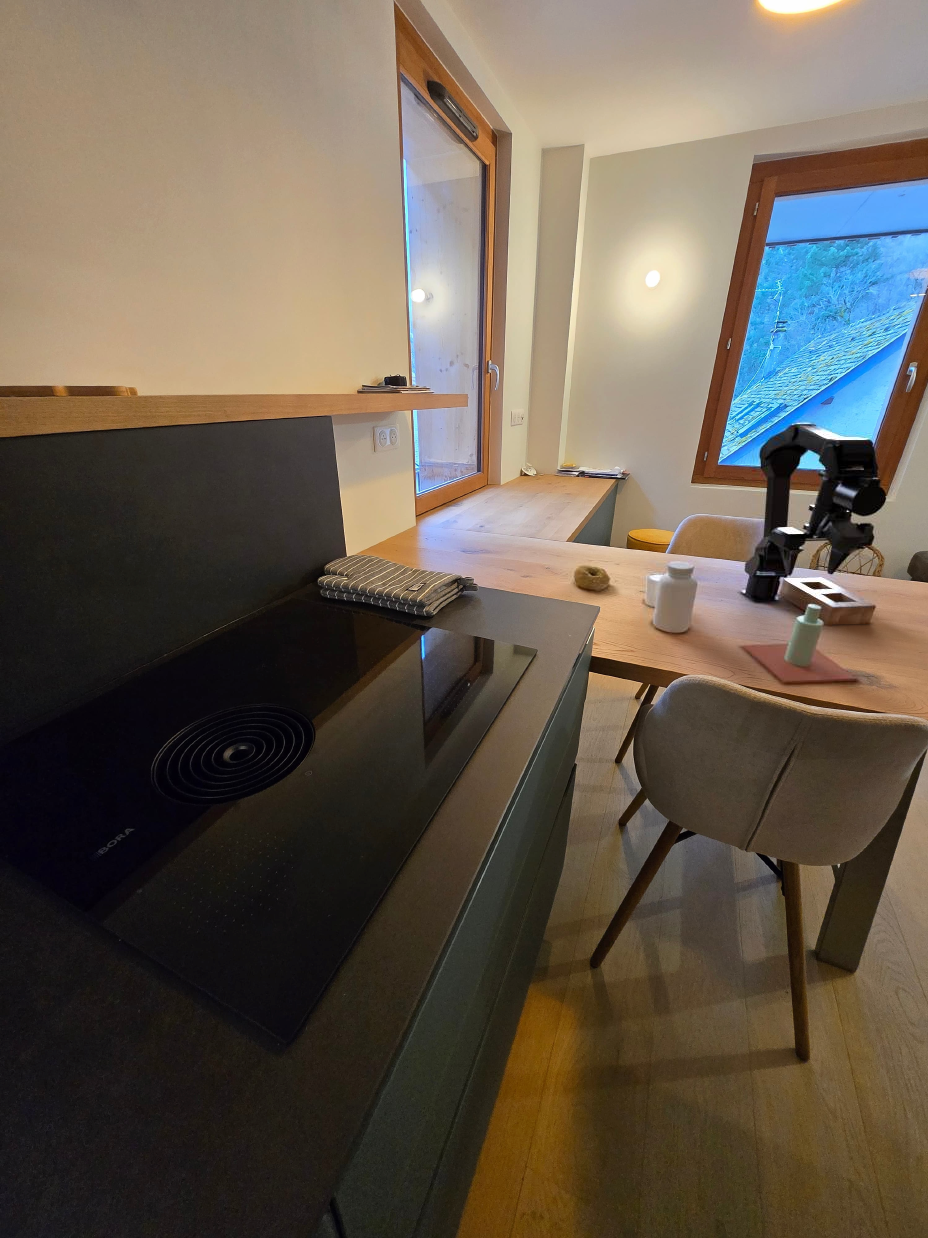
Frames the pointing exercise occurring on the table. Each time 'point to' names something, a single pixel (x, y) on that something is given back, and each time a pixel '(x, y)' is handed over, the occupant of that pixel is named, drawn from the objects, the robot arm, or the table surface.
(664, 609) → the pill bottle
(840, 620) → the holder
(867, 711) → the table surface
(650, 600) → the white short cylinder
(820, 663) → the mat
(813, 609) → the bottle
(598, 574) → the bagel
